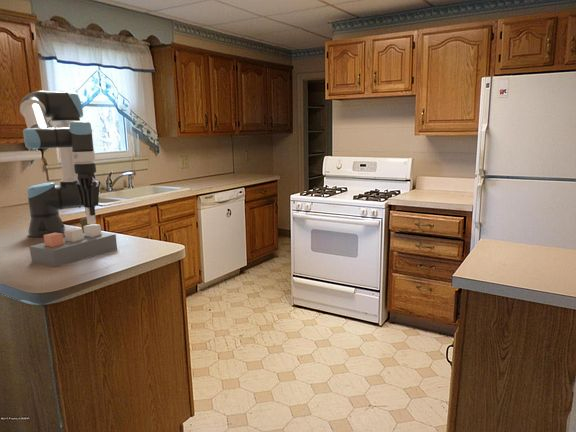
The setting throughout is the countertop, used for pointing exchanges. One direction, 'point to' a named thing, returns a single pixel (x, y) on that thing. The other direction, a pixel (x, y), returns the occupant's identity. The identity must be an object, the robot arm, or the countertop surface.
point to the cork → (83, 222)
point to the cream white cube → (73, 234)
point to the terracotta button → (53, 239)
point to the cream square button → (92, 230)
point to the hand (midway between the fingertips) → (91, 223)
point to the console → (72, 250)
